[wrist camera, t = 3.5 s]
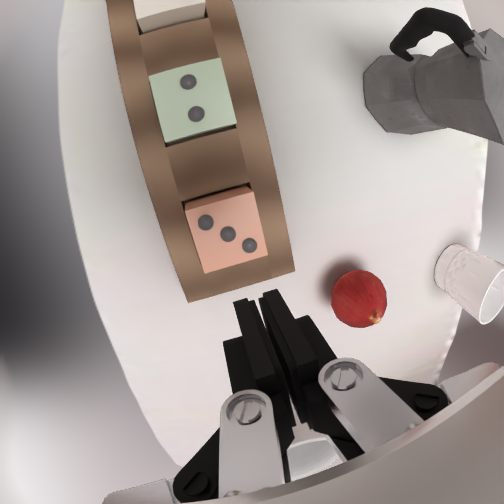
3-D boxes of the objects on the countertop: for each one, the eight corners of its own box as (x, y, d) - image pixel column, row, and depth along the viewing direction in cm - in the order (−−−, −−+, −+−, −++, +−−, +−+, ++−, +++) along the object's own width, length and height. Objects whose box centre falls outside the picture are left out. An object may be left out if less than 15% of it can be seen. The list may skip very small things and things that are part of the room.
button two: (154, 85, 19) (148, 75, 16) (216, 68, 19) (220, 56, 16) (169, 142, 21) (164, 142, 18) (231, 125, 21) (237, 122, 18)
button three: (185, 202, 23) (184, 211, 20) (245, 185, 23) (254, 192, 20) (203, 257, 25) (204, 274, 22) (259, 241, 25) (268, 255, 22)
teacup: (297, 356, 34) (327, 416, 25) (327, 409, 40) (351, 456, 31) (212, 395, 34) (222, 459, 25) (260, 439, 40) (274, 489, 31)
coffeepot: (441, 92, 25) (566, 97, 9) (424, 158, 28) (558, 193, 12) (338, 20, 21) (469, -47, 4) (313, 94, 24) (469, 57, 7)
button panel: (110, -13, 16) (103, -27, 13) (211, -39, 16) (214, -54, 14) (188, 287, 28) (188, 303, 25) (285, 258, 29) (295, 271, 26)
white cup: (452, 229, 33) (506, 256, 23) (470, 256, 35) (516, 283, 26) (422, 276, 34) (473, 312, 25) (443, 297, 37) (486, 331, 28)
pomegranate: (371, 262, 31) (413, 295, 24) (354, 306, 33) (389, 345, 26) (329, 255, 30) (368, 290, 23) (312, 302, 32) (344, 346, 24)
